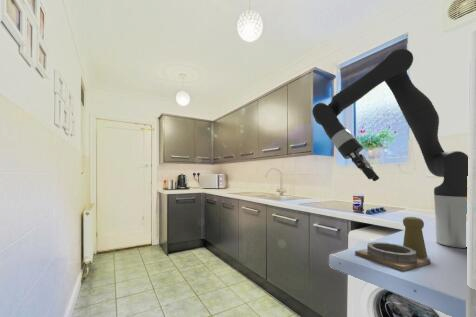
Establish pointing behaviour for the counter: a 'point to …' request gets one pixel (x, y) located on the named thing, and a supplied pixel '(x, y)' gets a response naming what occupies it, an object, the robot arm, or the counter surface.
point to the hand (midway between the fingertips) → (374, 179)
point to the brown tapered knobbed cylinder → (414, 235)
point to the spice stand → (392, 255)
